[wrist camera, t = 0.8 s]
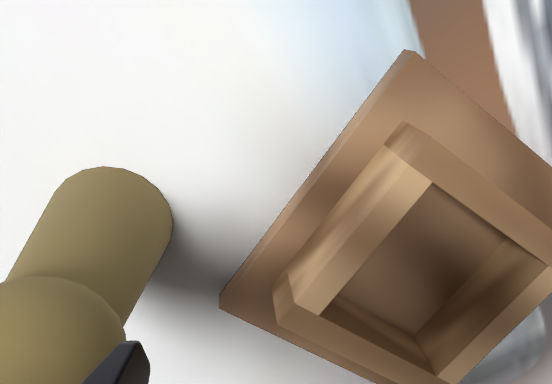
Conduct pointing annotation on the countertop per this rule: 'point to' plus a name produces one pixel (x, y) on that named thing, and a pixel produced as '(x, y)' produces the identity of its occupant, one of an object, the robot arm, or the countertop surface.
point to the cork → (80, 276)
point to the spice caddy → (406, 238)
